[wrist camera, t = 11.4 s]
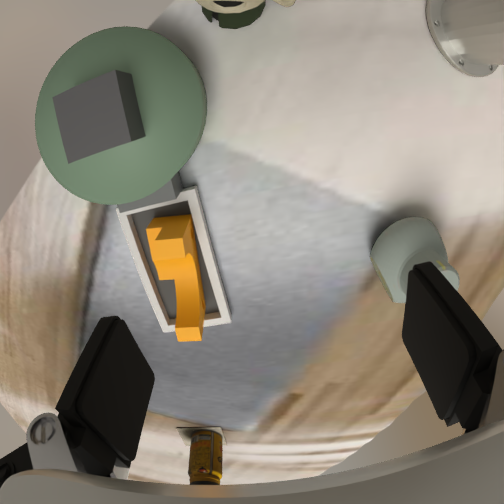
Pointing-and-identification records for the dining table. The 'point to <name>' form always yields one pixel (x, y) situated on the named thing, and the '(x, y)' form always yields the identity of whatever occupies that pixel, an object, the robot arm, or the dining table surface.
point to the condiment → (204, 454)
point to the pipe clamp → (180, 270)
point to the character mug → (236, 11)
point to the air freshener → (409, 254)
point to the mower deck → (131, 146)
